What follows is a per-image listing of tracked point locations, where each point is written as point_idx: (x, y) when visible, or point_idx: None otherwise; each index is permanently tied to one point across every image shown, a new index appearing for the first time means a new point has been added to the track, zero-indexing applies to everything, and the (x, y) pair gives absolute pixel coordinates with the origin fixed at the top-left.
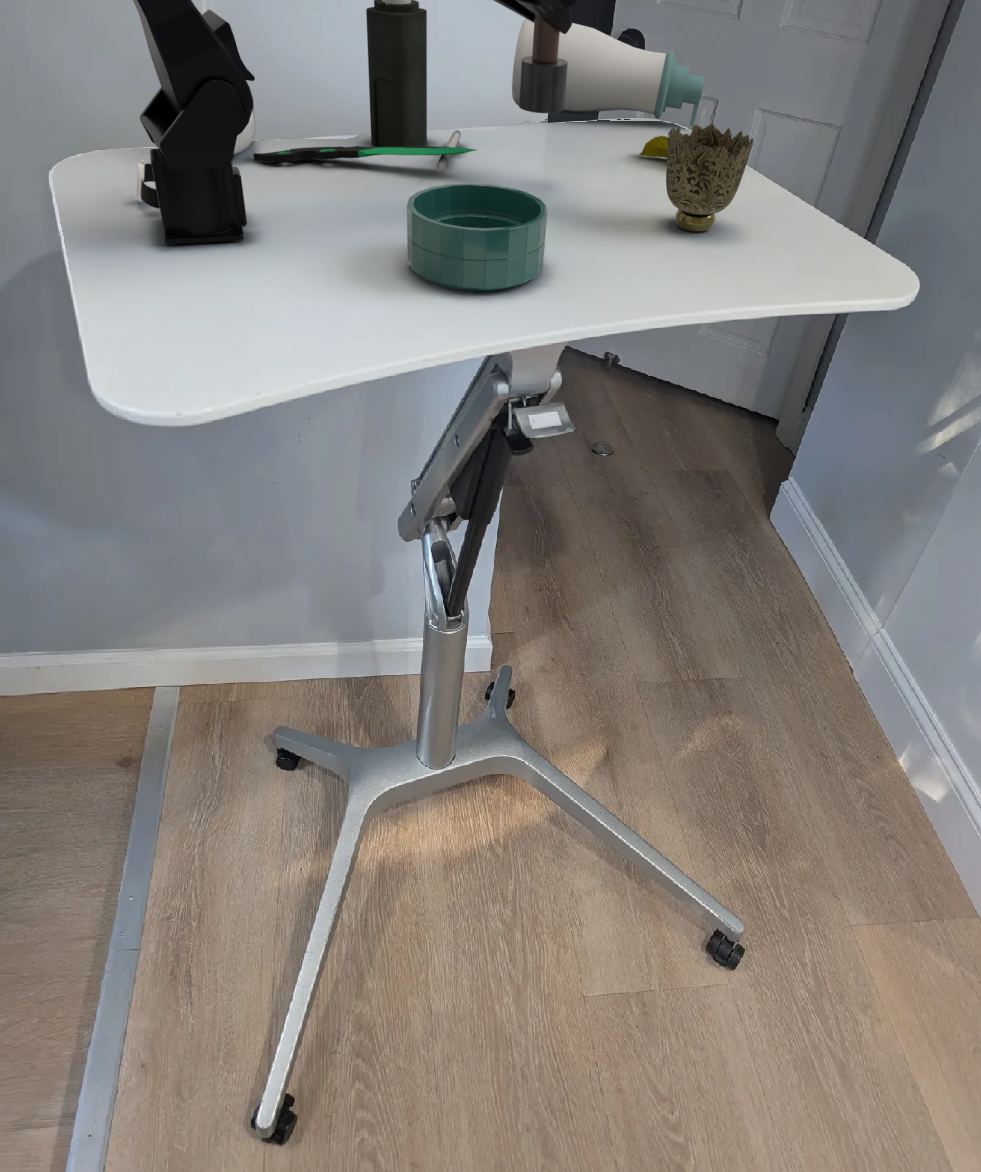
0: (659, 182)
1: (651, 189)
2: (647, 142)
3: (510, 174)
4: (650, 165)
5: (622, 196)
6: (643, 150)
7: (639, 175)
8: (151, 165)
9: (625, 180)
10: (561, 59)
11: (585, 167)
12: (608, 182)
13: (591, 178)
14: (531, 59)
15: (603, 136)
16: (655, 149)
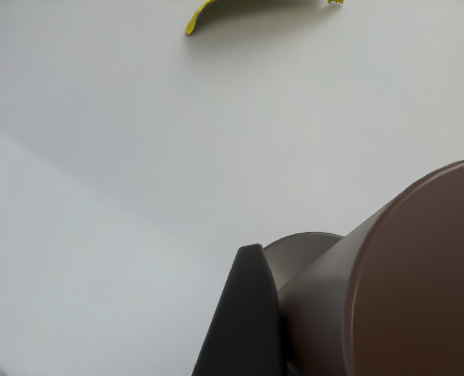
0: (332, 79)
1: (365, 114)
2: (198, 11)
3: (198, 336)
4: (237, 41)
5: (390, 186)
6: (193, 23)
7: (285, 90)
8: None
9: (304, 130)
10: (314, 244)
11: (208, 160)
12: (306, 167)
13: (274, 185)
14: (290, 369)
15: (45, 26)
16: (204, 4)
